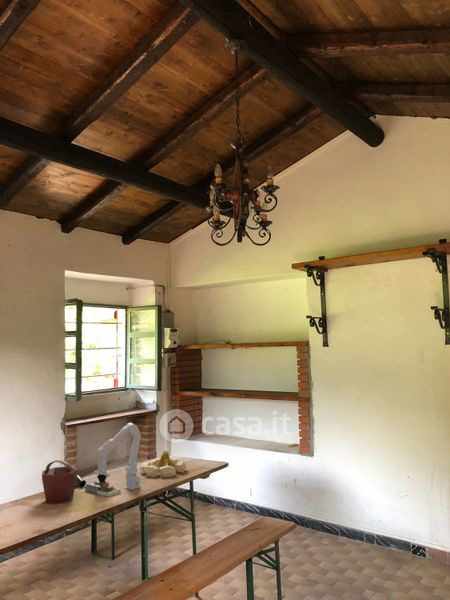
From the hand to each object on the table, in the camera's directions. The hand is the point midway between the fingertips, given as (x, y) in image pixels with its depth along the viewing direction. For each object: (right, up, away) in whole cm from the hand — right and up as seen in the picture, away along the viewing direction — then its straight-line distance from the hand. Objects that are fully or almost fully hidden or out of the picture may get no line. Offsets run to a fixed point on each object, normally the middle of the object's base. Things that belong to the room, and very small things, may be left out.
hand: (102, 485), depth 320 cm
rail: (-4, -5, +3) cm, 7 cm away
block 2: (+4, -1, -3) cm, 5 cm away
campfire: (+36, -9, +47) cm, 60 cm away
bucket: (-25, -3, -16) cm, 29 cm away
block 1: (+2, -1, -2) cm, 3 cm away
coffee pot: (-24, -6, +11) cm, 27 cm away
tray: (+6, -3, -5) cm, 8 cm away
